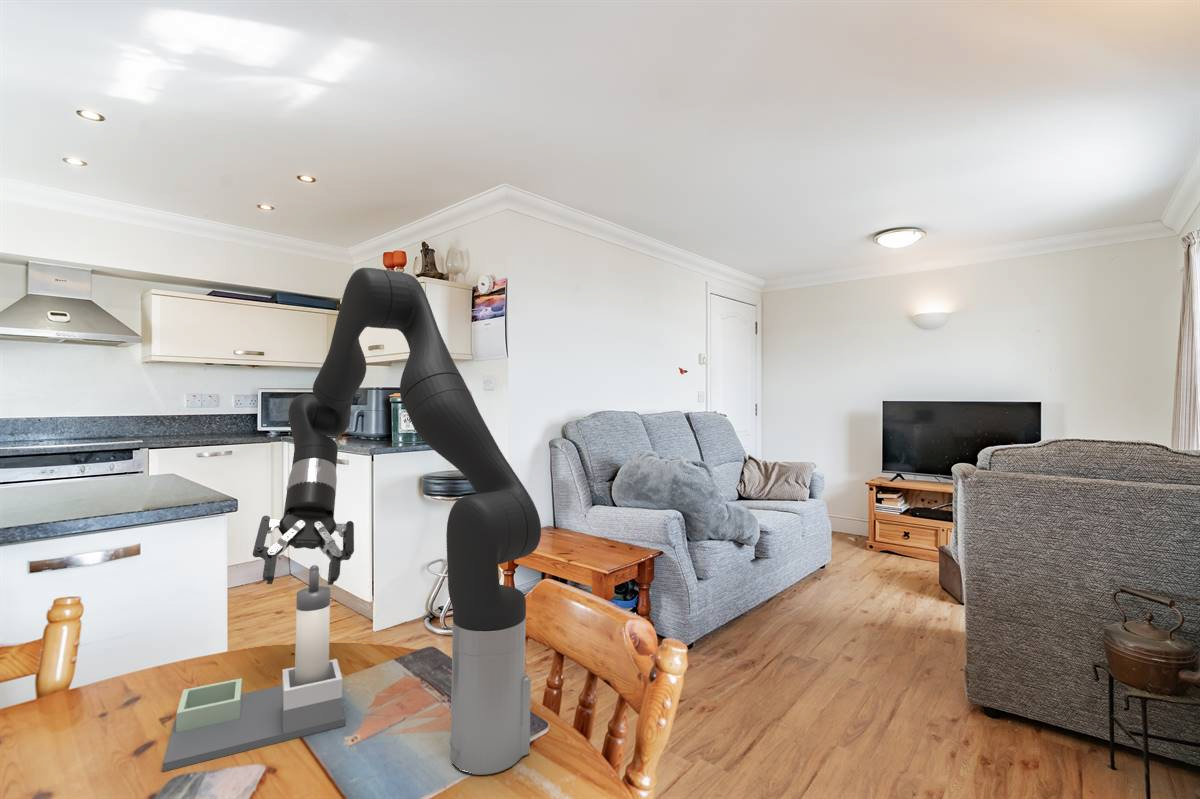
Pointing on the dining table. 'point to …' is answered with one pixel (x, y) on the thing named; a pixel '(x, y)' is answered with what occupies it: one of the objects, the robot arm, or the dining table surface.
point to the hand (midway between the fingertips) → (301, 582)
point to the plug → (312, 632)
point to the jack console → (251, 717)
